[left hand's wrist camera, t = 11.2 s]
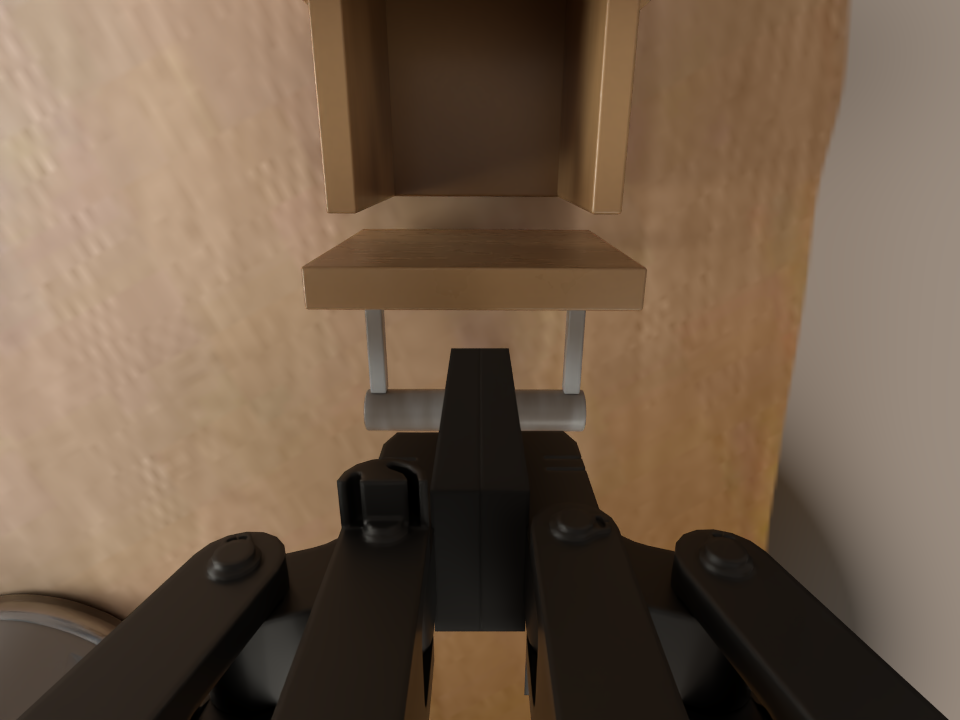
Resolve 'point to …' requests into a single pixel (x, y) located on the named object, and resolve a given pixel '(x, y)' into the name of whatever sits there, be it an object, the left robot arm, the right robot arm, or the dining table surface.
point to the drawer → (474, 170)
